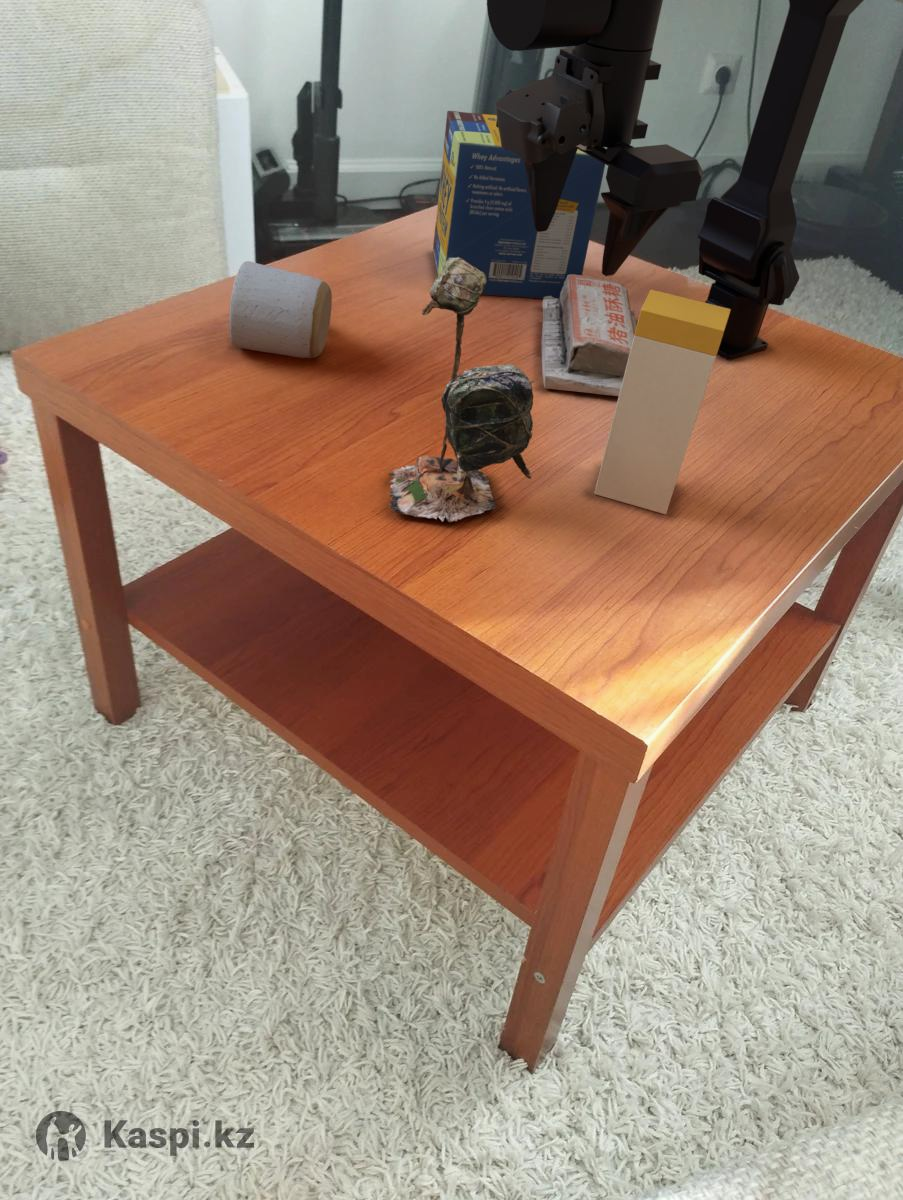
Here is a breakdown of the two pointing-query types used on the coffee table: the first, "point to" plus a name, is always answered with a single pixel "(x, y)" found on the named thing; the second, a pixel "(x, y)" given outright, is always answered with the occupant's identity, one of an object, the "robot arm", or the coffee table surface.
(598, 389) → the packaged product
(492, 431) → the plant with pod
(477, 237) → the protein box
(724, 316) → the block
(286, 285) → the grey cylinder
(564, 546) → the coffee table surface
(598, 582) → the coffee table surface
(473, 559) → the coffee table surface
